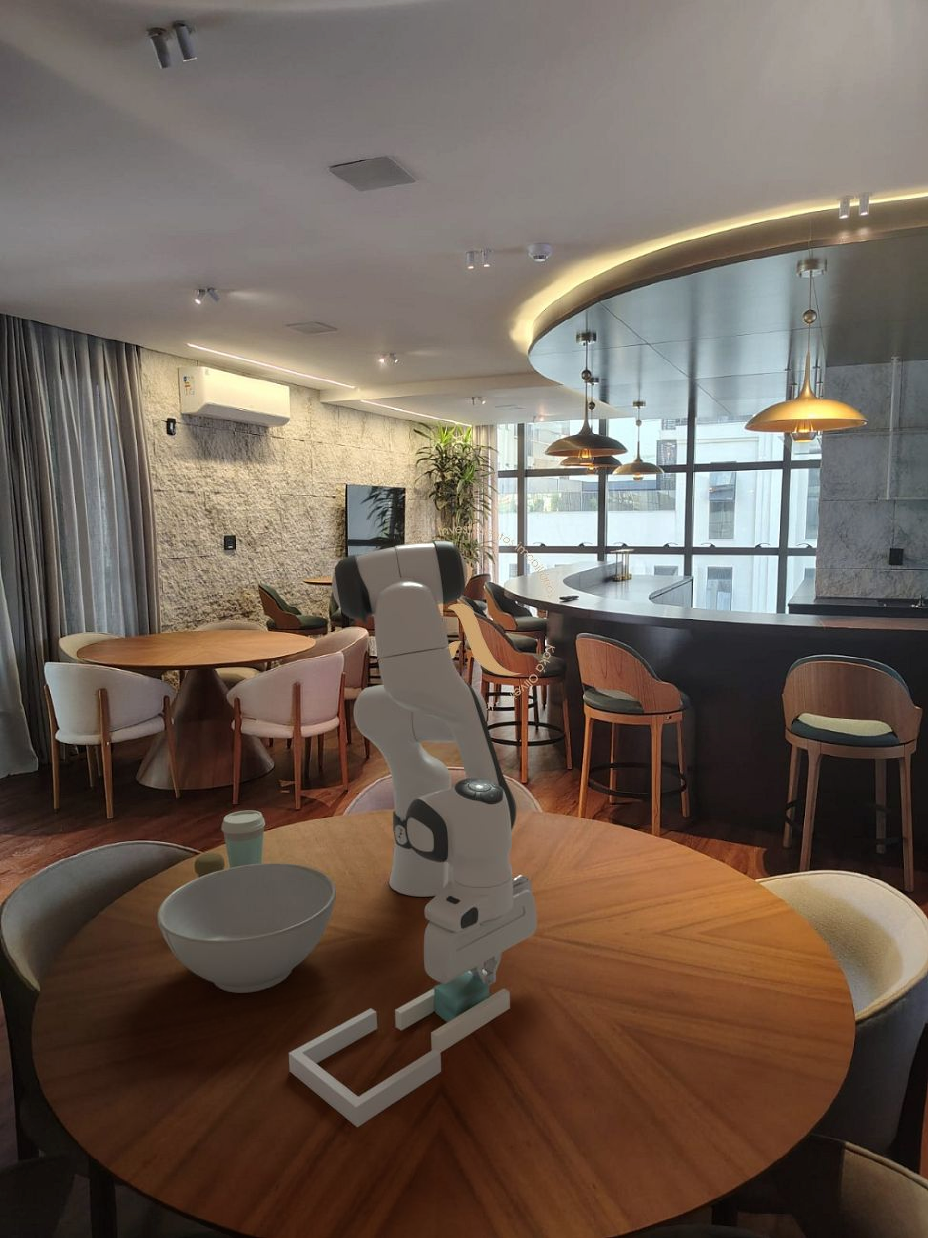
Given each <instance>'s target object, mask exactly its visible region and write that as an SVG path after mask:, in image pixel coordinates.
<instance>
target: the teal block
mask: <svg viewBox="0 0 928 1238" xmlns="http://www.w3.org/2000/svg"><path fill="white" fill-rule="evenodd" d="M433 988H434V998H435V1011H434V1013H435V1014H436V1015H437V1016H439V1017H440V1018H441V1019H442V1020H444V1021H445V1022H446V1023H448V1022H449V1021H451V1020H453V1019H454V1018H456V1017H457V1016H459V1015H461V1014H462V1013H464V1012H466V1011H467V1010H469V1009H471V1008H472V1007H474V1006H475V1005H477V1004H479V1003H480V1002H482V1001H484V1000H485V999H487V998H489V997H490V985H489V986H488V985H486V984H485V983H483V982H482V981H480V980H479V979H477V978H476V977H475V976H474V975H472V974H470V973H469V972H466V973H464V974H462V975H461V976H459V977H457V978H455V979H454V980H452V981H450V982H448V983H447V984H442V983H439V984H437V985H434V987H433Z"/></svg>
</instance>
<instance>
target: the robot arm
mask: <svg viewBox="0 0 928 1238" xmlns="http://www.w3.org/2000/svg"><path fill="white" fill-rule="evenodd" d="M331 579H332V581H331V590H332V594H333V599H334V600H335V602H336V605H337V606H338V608H339V609H341V613H342V614H343V615H345V616H347V617H348V618H349V619H351V620H352V619H353V620H357V621H358V620H359V621H361V622H362V624H363V625H367V624H368V622H367V621H368V619H369V618H371V617H373V620H374V638H375V648H376V655H377V659H378V660H377V661H378V663H377V664H378V667H379V668H378V669H379V674H380V679H381V682H382V684H378V685H373V686H369V687H365V688H364V689H363V690H361V692H360V693H359V695H358V696H357V698H356V700H355V702H354V707H353V720H354V723H355V727H357V730H358V731H359V732H360V733H361V735H363V736H364V738H367V739H368V740H369V741H370V742H371V743H372V744H373V745H374V746H375V747H376V748H377V749H378V751H380V753H381V755H382V757H383V758H384V759H385V762H386V763H387V766H388V768H389V772H390V774H391V780H392V787H393V797H394V798H393V801H394V810H393V812H392V828H393V829H392V831H393V837H394V850H393V861H392V869H391V873H390V878H389V883H388V884H389V886H390V887H391V889H392V890H394V891H396V892H397V893H399V894H403V895H406V896H411V897H433V898H432V899H431V900H429V902H427V904H426V905H425V907H424V912H423V913H424V917H425V919H427V920H428V921H429V922H428V924H427V926H426V927H425V930H424V937H423V938H424V939H423V964H424V966H423V967H424V971H425V973H426V974H427V976H429V977H430V978H431V979H433V980H435V981H437V982H439V984H441V983H442V984H447V983H448V982H450V981H452V980H454V979H455V978H457V977H459V976H461V975H462V974H464V973H466V972H468V971H471V973H472V974H473V976H475V977H476V978H477V979H479V980H480V981H482V982H483V983H485V984H486V985H488V986H489V987H490V985H492V984H494V983H495V982H497V971H498V968H499V965H500V963H501V959H502V953H503V952H505V951H506V950H508V949H510V948H512V947H514V946H515V945H517V944H520V942H521V943H522V941H524V940H526V939H528V938H530V937H531V936H533V935H534V934H535V932H536V930H537V926H538V918H537V917H538V916H537V910H536V909H537V908H536V903H535V897H534V895H533V892H532V881H531V879H530V878H529V877H528V876H526V875H524V874H518V875H517V876H516V877H515V878H514V877H513V868H512V864H511V862H510V861H511V860H510V855H511V854H510V853H511V850H512V846H513V845H512V844H513V842H512V841H513V840H512V837H513V835H512V831H513V829H514V826H515V822H516V819H517V804H516V800H515V796H514V795H513V793H512V790H511V788H510V787H509V785H508V783H507V781H506V779H505V777H504V774H503V771H502V767H501V766H500V762H499V758H498V756H497V755H498V754H497V752H496V750H495V746H494V743H493V740H492V737H491V733H490V731H489V727H488V724H487V718H488V708H487V704H486V700H485V699H484V697H483V695H482V693H480V691H479V690H478V689H477V688H475V687H473V686H471V684H470V683H469V682H467V681H465V680H464V679H463V678H462V677H461V675H460V673H459V672H458V670H457V668H456V666H455V663H454V661H453V658H452V655H451V654H452V653H451V649H450V645H449V640H448V634H447V631H446V627H445V623H444V619H443V615H442V612H441V609H440V607H439V605H441V604H443V605H444V606H445V605H449V604H450V603H452V602H453V603H454V602H455V601H457V600H459V599H461V597H462V596H463V594H464V593H465V591H466V586H467V582H468V566H467V564H466V560H465V558H464V556H463V555H462V552H461V551H460V549H459V547H458V546H457V545H456V544H454V543H453V542H452V541H447V540H446V541H445V540H434V541H433V542H419V543H407V544H397V545H394V546H393V547H387V548H382V549H377V550H372V551H369V552H367V553H362V554H359V555H357V554H353V555H349V556H346V557H345V558H342V559H340V560H338V562H337V563H336V565H335V567H334V573H333V575H332V578H331ZM422 743H455V744H456V748H457V750H458V753H459V757H460V760H461V762H462V763H461V764H462V765H463V769H464V772H465V778H464V779H461V780H460V781H458V782H456V783H455V784H454V785H453V786H452V777H451V773H450V770H449V769H448V767H447V766H446V764H445V763H443V762H442V761H441V760H439V759H438V758H436V757H434V756H432V755H430V754H429V753H428V752H427V751H426V750H425V748H424V747H423V746H422Z"/></svg>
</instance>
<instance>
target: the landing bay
mask: <svg viewBox="0 0 928 1238" xmlns="http://www.w3.org/2000/svg"><path fill="white" fill-rule="evenodd" d="M377 1019H378V1018H377V1011H376V1010H374V1009H373V1008H372V1007H371V1008H370V1007H369V1009H367V1010H364V1011H363V1012H361V1013H359V1014H357V1015H356V1016H354V1017H352V1018H350V1019H349V1020H347V1021H345V1022H343V1023H341V1024H340V1025H337V1026H335V1027H334V1028H332V1029H330V1030H329V1031H328V1030H327V1032H325V1033H323V1034H321V1035H319V1036H317V1037H316V1038H313V1039H312V1040H310V1041H308V1042H306V1043H305V1044H303V1045H301V1046H299V1047H297V1048H295V1049H294V1050H292V1051H290V1052H288V1063H289V1066H288V1068H289V1072H290V1073H291V1074H292V1075H294V1076H295V1078H297V1079H298V1080H299V1081H301V1082H302V1083H303V1084H304V1085H306V1086H307V1087H308V1088H309V1089H310V1090H312V1091H313V1092H314V1093H315V1094H316V1095H318V1096H319V1097H320V1098H321V1099H322V1100H324V1101H325V1102H326V1103H327V1104H329V1105H330V1106H331V1107H332V1108H333V1109H335V1110H336V1111H337V1112H338V1113H339V1114H341V1116H343V1118H345V1119H347V1120H348V1121H349V1122H351V1124H353V1125H354V1126H355V1128H359V1127H360V1126H362V1125H363V1124H365V1123H366V1122H368V1121H369V1120H371V1119H373V1118H374V1117H375V1116H377V1115H378V1114H379V1113H382V1112H383V1111H384V1110H385V1109H387V1108H388V1107H390V1106H391V1105H393V1104H395V1103H396V1102H398V1101H399V1100H401V1099H402V1098H403V1097H405V1096H407V1095H408V1094H410V1093H411V1092H413V1091H414V1090H416V1089H418V1088H419V1087H420V1086H422V1085H423V1084H425V1083H426V1082H428V1081H429V1080H431V1079H432V1078H434V1077H435V1076H437V1075H438V1074H441V1072H442V1062H441V1061H442V1058H441V1053H442V1052H441V1053H439V1052H438V1051H436V1050H435V1049H433V1050H432V1049H431V1051H429V1052H427V1053H426V1054H424V1055H422V1056H420V1057H419V1058H418V1059H416V1060H414V1061H413V1062H412V1063H410V1064H408V1065H406V1066H405V1067H404V1068H402V1069H400V1070H399V1071H397V1072H395V1073H394V1074H392V1075H391V1076H389V1077H388V1078H386V1079H384V1080H382V1081H381V1082H380V1083H378V1084H377V1085H375V1086H374V1087H372V1088H370V1089H368V1090H367V1091H366V1092H363V1093H362V1094H360V1095H359V1096H358V1095H357V1094H356V1093H354V1092H352V1091H351V1090H350V1089H349V1088H347V1086H345V1085H344V1084H342V1083H341V1082H340V1081H338V1080H337V1079H336V1078H335V1077H333V1075H331V1074H330V1073H328V1071H326V1070H325V1069H323V1068H322V1067H321V1066H319V1065H318V1063H320V1062H321V1061H323V1060H325V1059H327V1058H329V1057H330V1056H332V1055H334V1054H335V1053H337V1052H339V1051H341V1050H342V1049H344V1048H346V1047H348V1046H349V1045H352V1044H353V1043H354V1042H355V1043H356V1041H358V1040H360V1039H361V1038H364V1037H365V1036H367V1035H369V1034H370V1033H372V1032H374V1031H376V1030H377V1029H378V1021H377Z"/></svg>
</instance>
